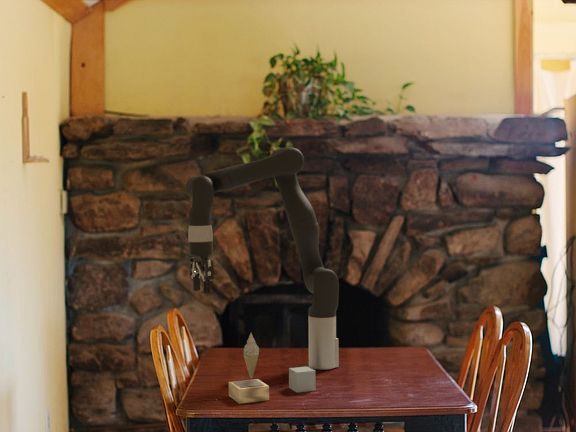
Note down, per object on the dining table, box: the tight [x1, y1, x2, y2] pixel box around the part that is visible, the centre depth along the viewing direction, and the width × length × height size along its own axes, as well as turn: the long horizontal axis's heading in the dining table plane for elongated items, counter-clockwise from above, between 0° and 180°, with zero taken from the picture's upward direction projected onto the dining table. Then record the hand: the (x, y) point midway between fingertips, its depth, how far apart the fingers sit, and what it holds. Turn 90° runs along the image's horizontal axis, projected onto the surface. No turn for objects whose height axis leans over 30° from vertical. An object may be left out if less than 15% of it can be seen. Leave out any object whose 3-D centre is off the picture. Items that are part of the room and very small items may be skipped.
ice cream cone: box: [242, 332, 260, 380], centre depth 242 cm, size 5×5×15 cm
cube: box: [288, 366, 317, 393], centre depth 230 cm, size 6×6×6 cm
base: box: [228, 378, 270, 405], centre depth 220 cm, size 9×9×4 cm
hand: (201, 291), depth 240 cm, fingers open, 8 cm apart
